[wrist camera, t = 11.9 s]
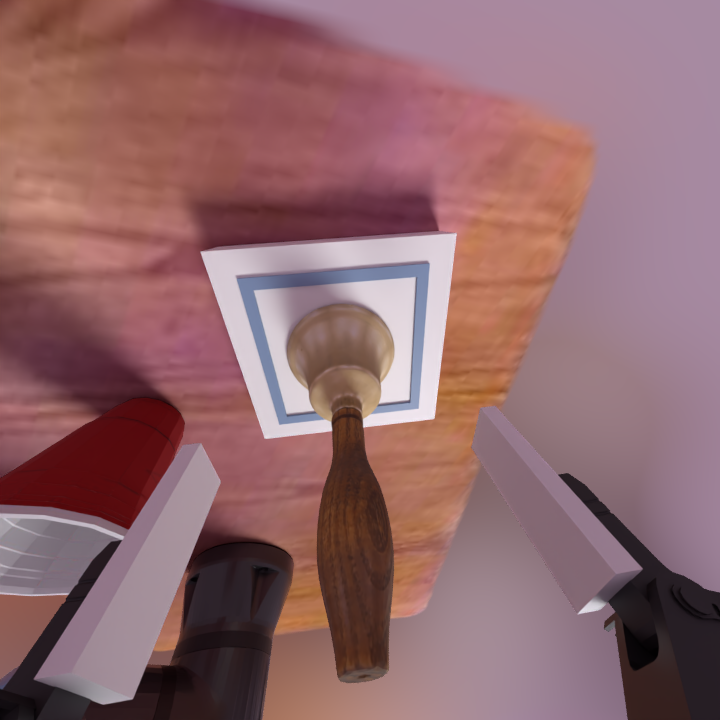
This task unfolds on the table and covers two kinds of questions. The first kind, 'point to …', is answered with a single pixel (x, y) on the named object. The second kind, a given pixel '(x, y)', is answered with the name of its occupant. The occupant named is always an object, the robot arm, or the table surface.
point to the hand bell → (350, 482)
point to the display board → (328, 287)
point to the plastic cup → (82, 495)
